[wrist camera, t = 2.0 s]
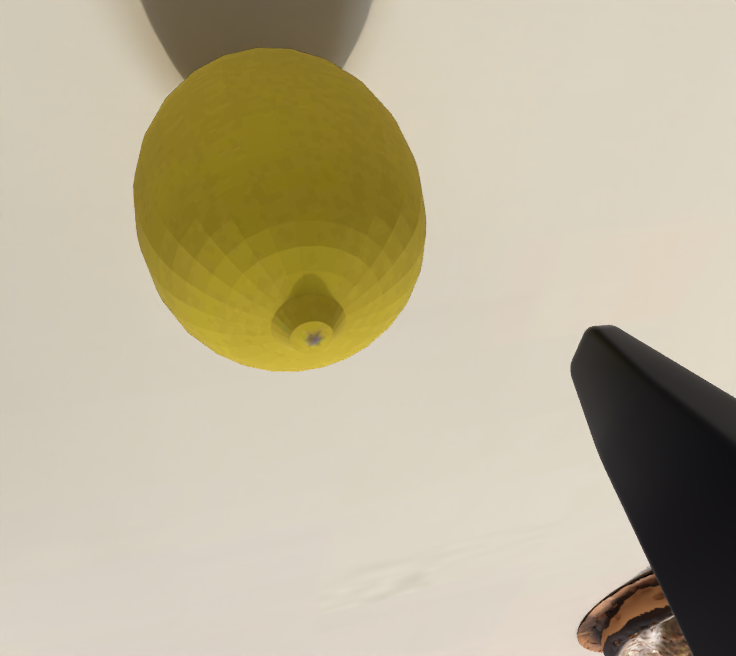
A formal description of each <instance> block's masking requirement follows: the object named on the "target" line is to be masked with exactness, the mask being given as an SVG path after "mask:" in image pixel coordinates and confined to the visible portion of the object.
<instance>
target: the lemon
mask: <svg viewBox="0 0 736 656" xmlns="http://www.w3.org/2000/svg"><path fill="white" fill-rule="evenodd" d="M133 190H134V207H135V219H136V230H137V236H138V241H139V245H140V248H141V251H142V254H143V256H144V259H145V262H146V264H147V267H148V269H149V272H150V274H151V277H152V279H153V282H154V284H155V287H156V289H157V291H158V293H159V295H160V297H161V299H162V301H163V302H164V303H165V305H166V306H167V307H168V308H169V310H170V311H171V312H172V313H173V315H174V316H175V317H176V318H177V320H178V321H179V322H180V323H181V325H182V326H183V327H184V328H185V330H186V331H187V332H188V333H189V334H191V335H192V336H193V337H195V338H196V339H197V340H199V341H200V342H202V343H203V344H204V345H206V346H207V347H208V348H210V349H211V350H213V351H214V352H215V353H217V354H219V355H221V356H223V357H226V358H228V359H230V360H233V361H235V362H237V363H240V364H242V365H245V366H249V367H253V368H259V369H264V370H269V371H303V370H309V369H315V368H321V367H325V366H327V365H330V364H333V363H336V362H339V361H341V360H344V359H347V358H348V357H350V356H352V355H353V354H355V353H357V352H359V351H360V350H362V349H364V348H365V347H367V346H368V345H369V344H371V343H372V342H373V341H374V340H375V339H376V338H377V337H379V336H380V335H381V334H382V333H383V332H384V331H385V330H386V329H388V328H389V327H390V326H391V324H392V323H393V322H394V320H395V319H396V318H397V316H398V315H399V314H400V312H401V311H402V310H403V308H404V307H405V306H406V304H407V302H408V300H409V298H410V296H411V293H412V291H413V288H414V286H415V283H416V281H417V278H418V276H419V274H420V270H421V266H422V260H423V252H424V244H425V236H426V215H425V207H424V201H423V195H422V189H421V183H420V177H419V172H418V168H417V165H416V161H415V159H414V156H413V154H412V152H411V150H410V148H409V146H408V144H407V142H406V140H405V138H404V136H403V134H402V132H401V130H400V128H399V126H398V124H397V122H396V120H395V119H394V117H393V116H392V114H391V113H390V112H389V111H388V110H387V109H386V107H385V106H384V105H383V104H382V103H381V102H380V101H379V100H378V99H377V98H376V97H375V95H374V94H373V93H372V92H371V91H370V90H369V89H368V88H367V87H366V86H365V85H364V84H363V82H361V81H360V80H358V79H357V78H356V77H354V76H352V75H351V74H349V73H348V72H346V71H344V70H343V69H341V68H340V67H338V66H336V65H335V64H333V63H332V62H330V61H328V60H326V59H323V58H320V57H317V56H313V55H310V54H307V53H303V52H300V51H296V50H293V49H280V48H254V49H249V50H245V51H240V52H236V53H232V54H227V55H223V56H221V57H219V58H218V59H216V60H214V61H212V62H210V63H208V64H206V65H205V66H203V67H201V68H199V69H197V70H195V71H194V72H193V73H191V74H190V75H189V76H188V77H187V78H186V79H185V80H184V81H183V82H182V83H181V84H180V85H179V86H178V87H177V88H176V89H175V90H174V91H173V92H172V93H171V94H170V95H169V96H168V97H167V98H166V99H165V100H164V102H163V104H162V106H161V107H160V109H159V111H158V112H157V114H156V116H155V118H154V119H153V121H152V123H151V125H150V126H149V128H148V130H147V131H146V133H145V136H144V139H143V142H142V146H141V150H140V155H139V159H138V163H137V168H136V172H135V177H134V184H133Z"/></svg>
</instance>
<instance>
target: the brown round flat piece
mask: <svg viewBox="0 0 736 656" xmlns="http://www.w3.org/2000/svg"><path fill="white" fill-rule="evenodd" d="M577 637H578V641H579V643H580V644H581V645H582V646H583V647H584V648H586V649H588V650H590V651H594V652H595V651H596V652H601V653H604V655H605V656H693V655H692V653H691V651H690V648H689V646H688V644H687V642H686V640H685V638H684V636H683V634H682V631H681V629H680V627H679V625H678V623H677V621H676V619H675V617H674V614H673V612H672V610H671V608H670V606H669V604H668V602H667V600H666V597H665V595H664V593H663V591H662V589H661V587H660V585H659V583H658V580H657V578H656V576H655V574H653V575H649V576H648V577H646V578H642V579H640V580H639V581H636V582H635V583H634V584H631V585H628V586H626V587H624V588H622V589H621V590H619V591H618V592H617V593H616V594H614V595H613V596H611V597H609V598H607V599H606V600H604V601H602V602H601V604H599V605H598V606H597V607H595V608H594V609H593V611H592V612H591V613H590V614H589V615H588V616H587V618H586V619H585V621H584V622H583V623H582V625H581V626H580V627H579V631H578V636H577Z"/></svg>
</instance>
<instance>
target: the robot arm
mask: <svg viewBox="0 0 736 656" xmlns="http://www.w3.org/2000/svg"><path fill="white" fill-rule="evenodd" d="M571 377H572V380H573V383H574V386H575V389H576V391H577V394H578V397H579V400H580V403H581V406H582V409H583V412H584V415H585V417H586V420H587V423H588V426H589V429H590V432H591V435H592V438H593V440H594V443H595V446H596V449H597V451H598V454H599V456H600V459H601V461H602V463H603V465H604V468H605V470H606V472H607V474H608V476H609V478H610V481H611V483H612V485H613V487H614V489H615V491H616V493H617V495H618V498H619V500H620V502H621V504H622V506H623V508H624V510H625V512H626V515H627V517H628V519H629V521H630V523H631V525H632V527H633V529H634V532H635V534H636V536H637V538H638V540H639V542H640V544H641V546H642V549H643V551H644V553H645V555H646V557H647V559H648V561H649V563H650V566H651V568H652V570H653V572H654V574H655V576H656V578H657V580H658V583H659V585H660V587H661V589H662V591H663V593H664V595H665V597H666V600H667V602H668V604H669V606H670V608H671V610H672V612H673V614H674V617H675V619H676V621H677V623H678V625H679V627H680V629H681V631H682V634H683V636H684V638H685V640H686V642H687V644H688V646H689V648H690V651H691V653H692V655H693V656H736V398H734V397H733V396H731V395H729V394H728V393H726V392H724V391H723V390H721V389H719V388H718V387H716V386H714V385H713V384H711V383H709V382H708V381H706V380H704V379H703V378H701V377H699V376H698V375H696V374H694V373H693V372H691V371H689V370H688V369H686V368H684V367H683V366H681V365H679V364H678V363H676V362H674V361H673V360H671V359H669V358H668V357H666V356H664V355H663V354H661V353H659V352H658V351H656V350H654V349H653V348H651V347H649V346H648V345H646V344H644V343H643V342H641V341H639V340H638V339H636V338H634V337H633V336H631V335H629V334H628V333H626V332H624V331H623V330H621V329H619V328H618V327H616V326H613V325H602V326H592V327H589V328H588V329H587V330H586V331H585V333H584V334H583V337H582V339H581V341H580V343H579V346H578V348H577V350H576V352H575V355H574V357H573V359H572V362H571Z"/></svg>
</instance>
